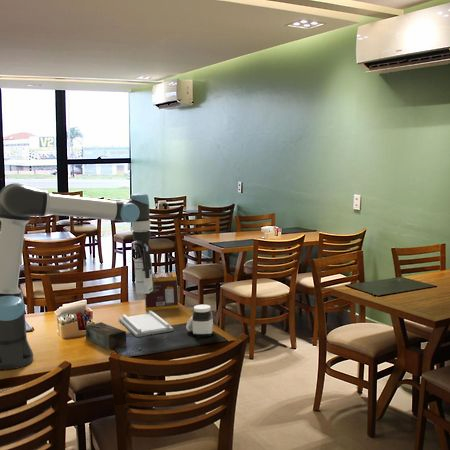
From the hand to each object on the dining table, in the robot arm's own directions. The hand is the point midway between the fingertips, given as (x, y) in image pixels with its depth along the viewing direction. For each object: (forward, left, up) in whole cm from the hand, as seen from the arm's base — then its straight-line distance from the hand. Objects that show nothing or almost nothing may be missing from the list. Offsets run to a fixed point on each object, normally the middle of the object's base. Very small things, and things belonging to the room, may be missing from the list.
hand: (144, 283), depth 241 cm
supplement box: (+26, -16, -19) cm, 36 cm away
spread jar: (-21, -16, -19) cm, 33 cm away
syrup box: (0, 0, -4) cm, 4 cm away
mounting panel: (+1, 0, -19) cm, 19 cm away
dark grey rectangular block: (-12, +21, -19) cm, 31 cm away
